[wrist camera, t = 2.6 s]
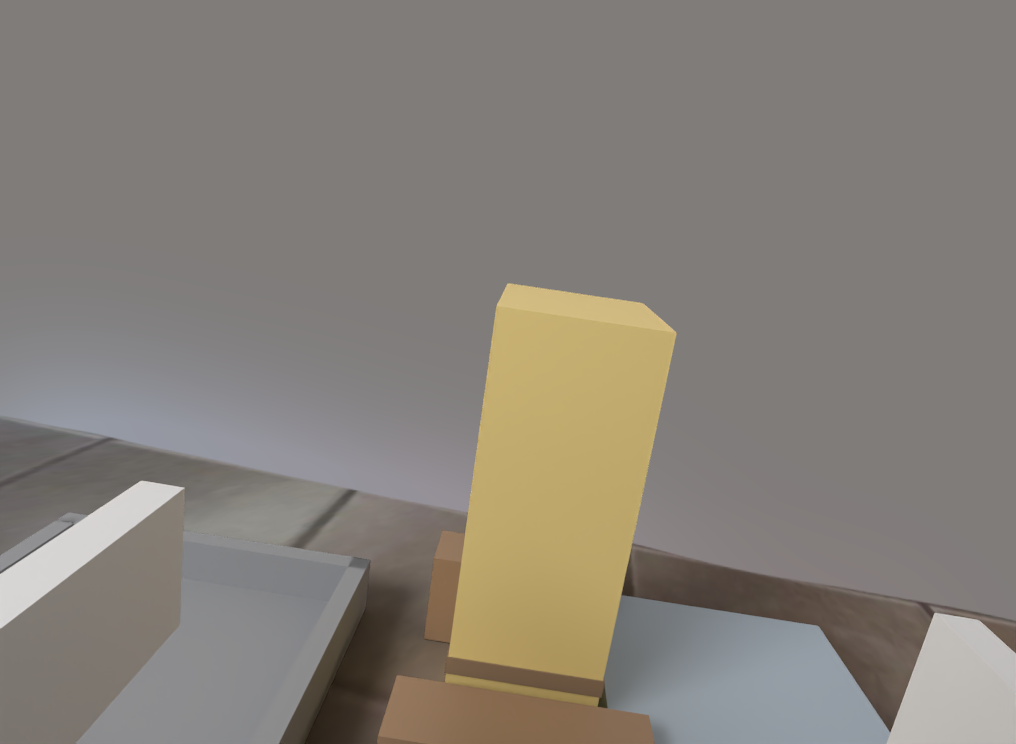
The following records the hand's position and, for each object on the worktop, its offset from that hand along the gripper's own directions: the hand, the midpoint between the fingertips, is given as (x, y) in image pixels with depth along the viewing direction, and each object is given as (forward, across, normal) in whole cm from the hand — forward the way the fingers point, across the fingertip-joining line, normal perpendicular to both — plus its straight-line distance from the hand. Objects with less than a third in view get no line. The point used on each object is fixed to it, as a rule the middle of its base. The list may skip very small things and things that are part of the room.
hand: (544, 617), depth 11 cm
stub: (+11, +1, -12) cm, 16 cm away
